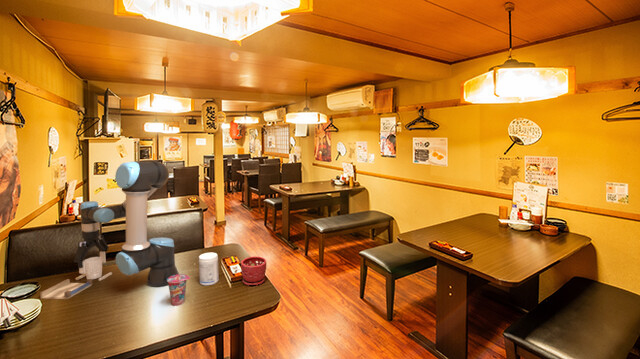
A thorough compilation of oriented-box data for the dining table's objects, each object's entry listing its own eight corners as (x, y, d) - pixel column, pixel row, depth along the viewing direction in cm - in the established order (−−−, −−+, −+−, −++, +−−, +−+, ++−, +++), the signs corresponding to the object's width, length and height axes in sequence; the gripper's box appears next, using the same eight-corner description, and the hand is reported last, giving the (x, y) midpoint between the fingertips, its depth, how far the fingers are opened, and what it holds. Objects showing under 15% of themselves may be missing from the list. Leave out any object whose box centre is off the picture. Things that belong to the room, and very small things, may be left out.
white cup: (93, 280, 152) (91, 262, 151) (81, 279, 154) (79, 261, 153) (106, 274, 160) (105, 257, 159) (95, 273, 162) (94, 256, 161)
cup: (168, 309, 126) (166, 283, 125) (168, 300, 134) (167, 276, 132) (191, 304, 130) (190, 279, 129) (190, 296, 138) (189, 272, 137)
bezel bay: (92, 284, 148) (92, 279, 147) (68, 299, 134) (67, 292, 134) (68, 284, 148) (67, 278, 148) (40, 298, 134) (40, 291, 134)
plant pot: (236, 285, 149) (235, 263, 148) (251, 275, 161) (251, 254, 160) (257, 290, 144) (257, 267, 143) (271, 279, 156) (271, 258, 155)
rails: (112, 274, 161) (112, 272, 161) (100, 280, 153) (100, 278, 153) (88, 273, 161) (88, 271, 161) (75, 279, 153) (75, 278, 153)
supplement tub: (208, 276, 159) (207, 251, 157) (222, 279, 156) (221, 253, 154) (195, 284, 150) (194, 257, 148) (210, 287, 147) (209, 259, 145)
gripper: (102, 223, 167) (104, 258, 169) (62, 237, 142) (65, 277, 144) (114, 224, 166) (116, 259, 169) (77, 237, 142) (80, 278, 144)
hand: (93, 267), depth 157 cm, fingers open, 13 cm apart
